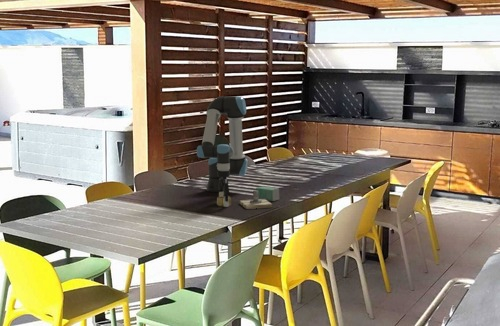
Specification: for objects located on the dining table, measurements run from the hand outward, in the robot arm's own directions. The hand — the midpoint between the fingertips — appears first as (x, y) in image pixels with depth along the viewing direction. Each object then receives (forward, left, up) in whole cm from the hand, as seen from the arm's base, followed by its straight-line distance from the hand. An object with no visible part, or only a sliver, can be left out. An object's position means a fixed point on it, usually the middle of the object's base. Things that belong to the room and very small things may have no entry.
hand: (223, 204), depth 365 cm
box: (-8, +30, -1) cm, 32 cm away
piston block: (+8, +18, 0) cm, 20 cm away
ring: (0, 0, 0) cm, 0 cm away
